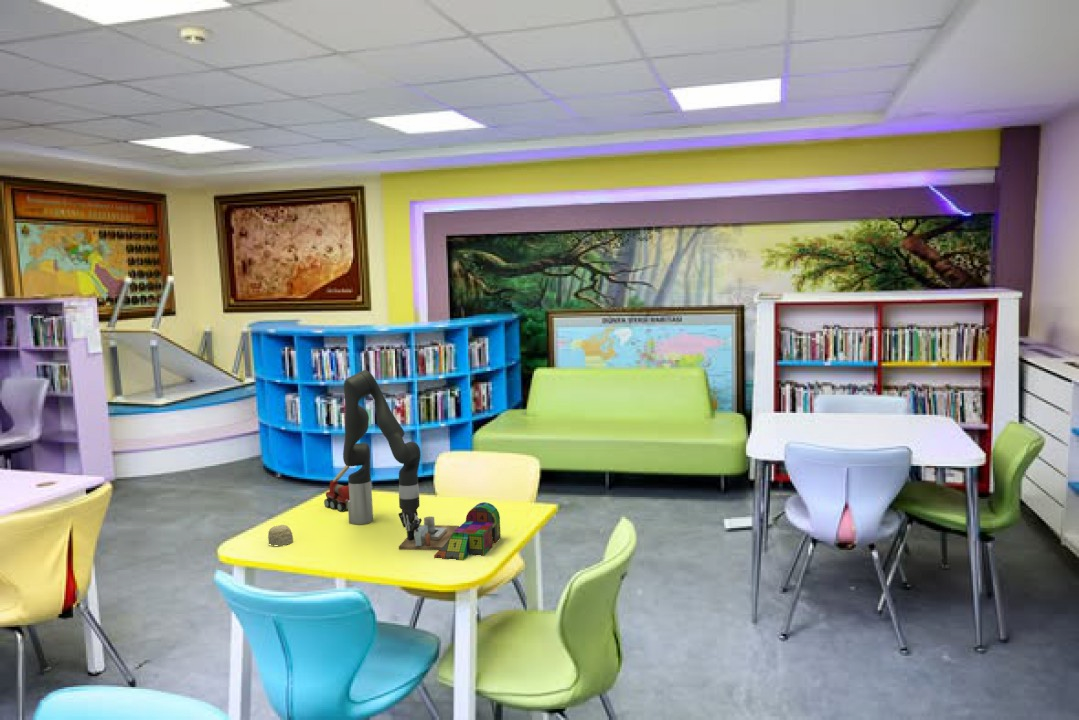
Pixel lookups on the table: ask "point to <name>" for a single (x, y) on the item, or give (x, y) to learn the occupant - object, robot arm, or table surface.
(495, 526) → the toy block train
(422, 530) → the flange plate
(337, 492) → the toy fire truck
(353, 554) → the table surface
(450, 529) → the flange base
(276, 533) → the brown rock
